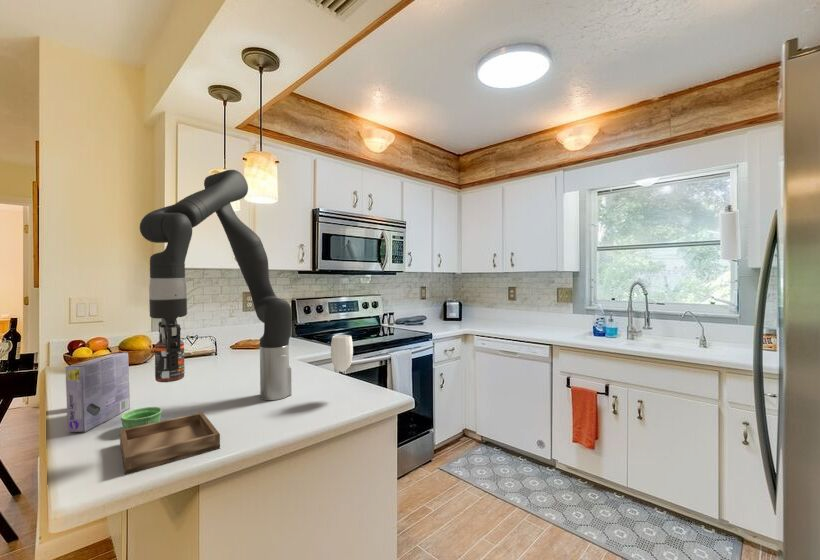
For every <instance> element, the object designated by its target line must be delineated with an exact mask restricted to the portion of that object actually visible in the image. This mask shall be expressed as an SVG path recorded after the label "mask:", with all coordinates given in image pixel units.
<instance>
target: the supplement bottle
mask: <svg viewBox="0 0 820 560" xmlns="http://www.w3.org/2000/svg"><path fill="white" fill-rule="evenodd" d="M158 340H159V339H158ZM170 347H175V344H170ZM180 348H181V350H180V352H179V353H178V369H176V370H167V360H166V353H165V351H166V348H165V346H164V345H163V343H162V334H161V333H160V340H159V341H158V342H157V343H155V345H154V377H155V381H156V382H157V383H172V382H177V381H180V380H182V379H183V378H184V377H185V342H184V341H182V340H181V339H180Z"/></svg>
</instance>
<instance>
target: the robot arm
mask: <svg viewBox="0 0 820 560" xmlns="http://www.w3.org/2000/svg"><path fill="white" fill-rule="evenodd" d="M203 186H204V189H201V190H198V191H196V192H194V193H192V194H189V195H188V196H185V197H184V198H183V199H180V200H179V201H177V202H176V203H174V204H172V205H168V206H164V207H162V208H161V207H160V208H158V209H154V210H152V211H151V212H149V213H147V214H145V215H144V216H143V217H142V219H141V220H140V223H139V232H140V235H141V236H142V237H143V239H145V240H146V241H147V242H148V241H149V242H151V243H153V244H154V243H156V244H157V243H158V244H163V243H164V244H166V246H165V249H164V250H162V251H160V252H157V253H156V252H155V253H153V254H152V255H151V256H150V257H149V286H148V294H149V295H148V296H149V305H148V306H149V317H150V318H152V319H156V320H157V319H158V320H160V319H161V320H160V321H159V322H158V326H157V331H158V340H160V333H161V334H162V343H163V345H164V346H165V348H166V351H165V353H166V360H167V370H176V369H178V353H179V352H180V350H181V348H180V340H181V330H182V328H181V325H180V324H179V323H178V320H177V319H178V318H183V317H186V316H187V315H188V295H187V294H188V293H187V292H188V291H187V283H186V267H185V266H186V257H187V254H188V249H189V247H190V243H191V240H192V237H193V228H195V227H197V226H198V225H199V224H201V223H202V222H204V221H205V220H206V219H208V218H209V217H210V216H212V215H213V214H214V213H215V214H216V215H217V217H218V219H219V221H220V224H221V225H222V228H223V230H224V232H225V235H226V237H227V240H228V242H229V245H230V248H231V251H232V253H233V256H234V258H235V260H236V263H237V265H238V268H239V270H240V271H241V274H242V276H243V279H244V281H245V284H246V285H247V287H248V290H249V293H250V296H251V299H252V304H253V307H254V310H255V314H256V317H257V318H258V320H259V321H260V322H262V323H263V325H264V327H263V328H264V329H263V335H262V336H261V337H260V338H259V386H260V387H259V393H260V399H261V400H265V401H276V400H282V399H284V398H285V399H286V398H287V397H289V396H292V395H293V394H292V389H293V388H292V367H291V366H290V352H289V351H290V338H291V336H292V319H293V318H292V316H293V315H292V314H293V313H292V307H291V305H290V303H289V302H288V301H287V300H286V299H283V298H280V297H278V296H276V293H275V292H274V289H273V287H272V284H271V281H270V273H269V272H270V271H269V258H268V255H267V253H266V250H265V247H264V245H263V242H262V240H261V238H260V236H258V234H257V233H256V232H254V231H253V230H252V228H250V227H248V226H247V225H246V224H245V223H244V222H243V221H242V220H241V219H240V218H239V217H238V215H237V214H236V212H235V210H234V208H233V207H232V204H231V203H234V202H237V201H240V200H241V199H243V198H245V197H246V196H247V194H248V191H249V186H248V182H247V179H246V177H245V176H244V175H243V174H242V173H241V172H240V171H238V170H235V169H226V170H224V171H221V172H217V173H214V174H210V175H207V176H206V177H205V178H204V181H203ZM170 344H175V347H170Z"/></svg>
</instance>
